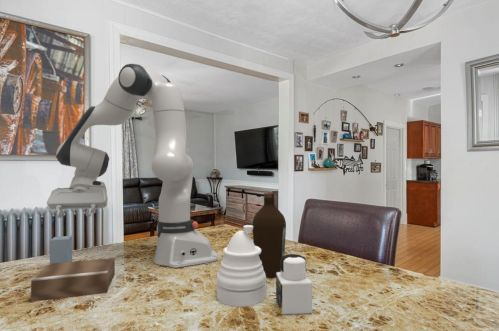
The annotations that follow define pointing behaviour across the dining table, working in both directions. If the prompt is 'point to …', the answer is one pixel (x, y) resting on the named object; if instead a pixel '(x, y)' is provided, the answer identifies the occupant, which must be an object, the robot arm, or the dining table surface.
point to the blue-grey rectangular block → (61, 249)
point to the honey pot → (241, 272)
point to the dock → (73, 279)
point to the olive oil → (270, 235)
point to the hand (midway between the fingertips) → (74, 216)
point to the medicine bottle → (293, 286)
